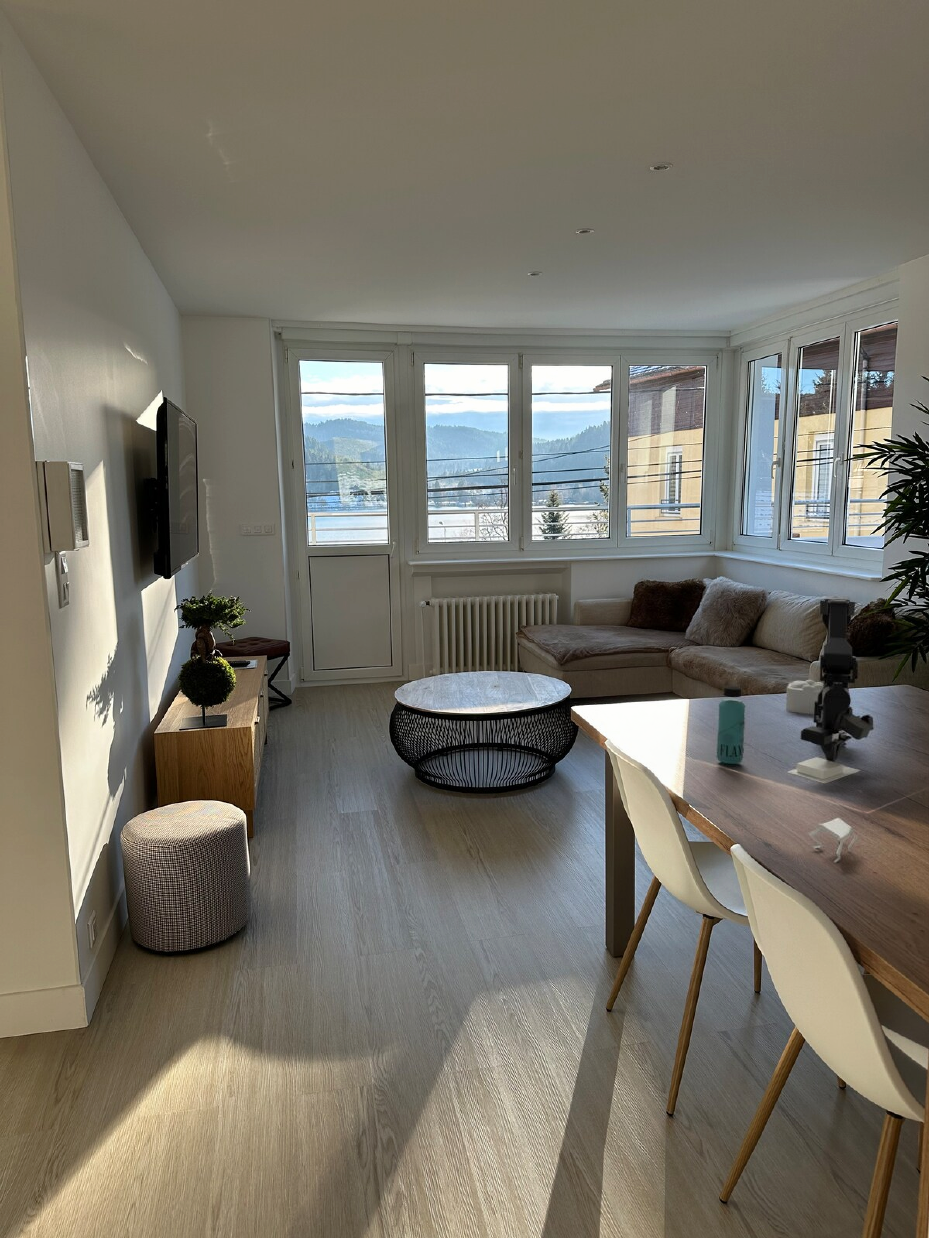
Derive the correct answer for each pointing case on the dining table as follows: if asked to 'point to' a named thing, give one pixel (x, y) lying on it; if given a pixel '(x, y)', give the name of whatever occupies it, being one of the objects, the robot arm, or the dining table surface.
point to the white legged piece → (835, 833)
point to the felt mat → (845, 772)
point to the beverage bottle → (731, 727)
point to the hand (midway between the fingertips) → (831, 764)
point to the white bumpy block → (802, 696)
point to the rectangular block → (819, 768)
